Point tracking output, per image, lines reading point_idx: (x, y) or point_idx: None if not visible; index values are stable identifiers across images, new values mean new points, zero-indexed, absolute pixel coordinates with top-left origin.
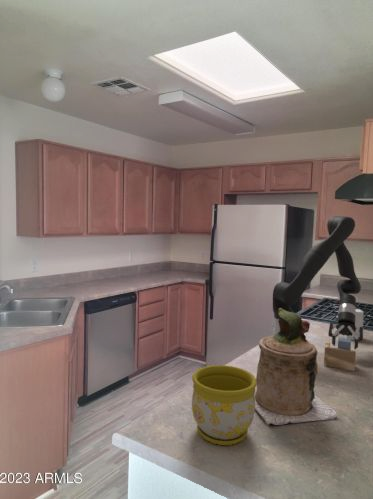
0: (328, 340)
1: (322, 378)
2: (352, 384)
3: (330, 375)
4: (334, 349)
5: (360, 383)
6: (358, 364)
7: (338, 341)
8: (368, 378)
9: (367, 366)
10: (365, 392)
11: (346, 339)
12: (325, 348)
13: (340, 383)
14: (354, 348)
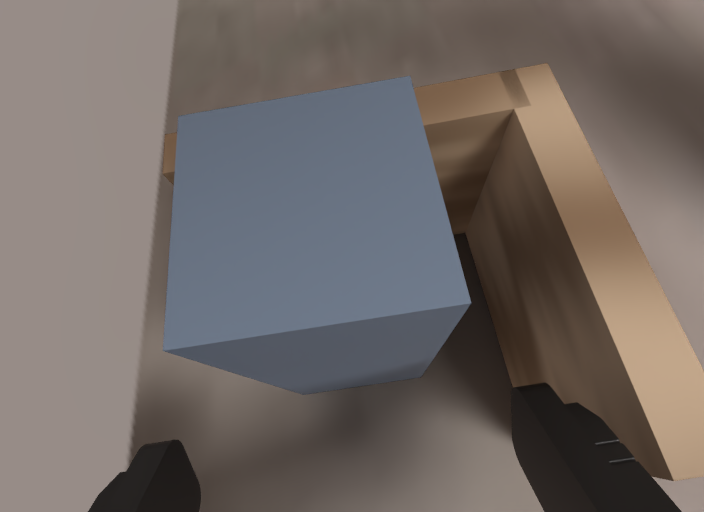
0: (700, 461)
1: (415, 17)
2: (252, 45)
3: (387, 75)
4: (422, 91)
5: (211, 80)
6: (220, 442)
7: (400, 89)
8: (159, 175)
9: (139, 441)
10: (190, 8)
11: (268, 257)
12: (533, 77)
13: (313, 21)
14: (192, 475)
